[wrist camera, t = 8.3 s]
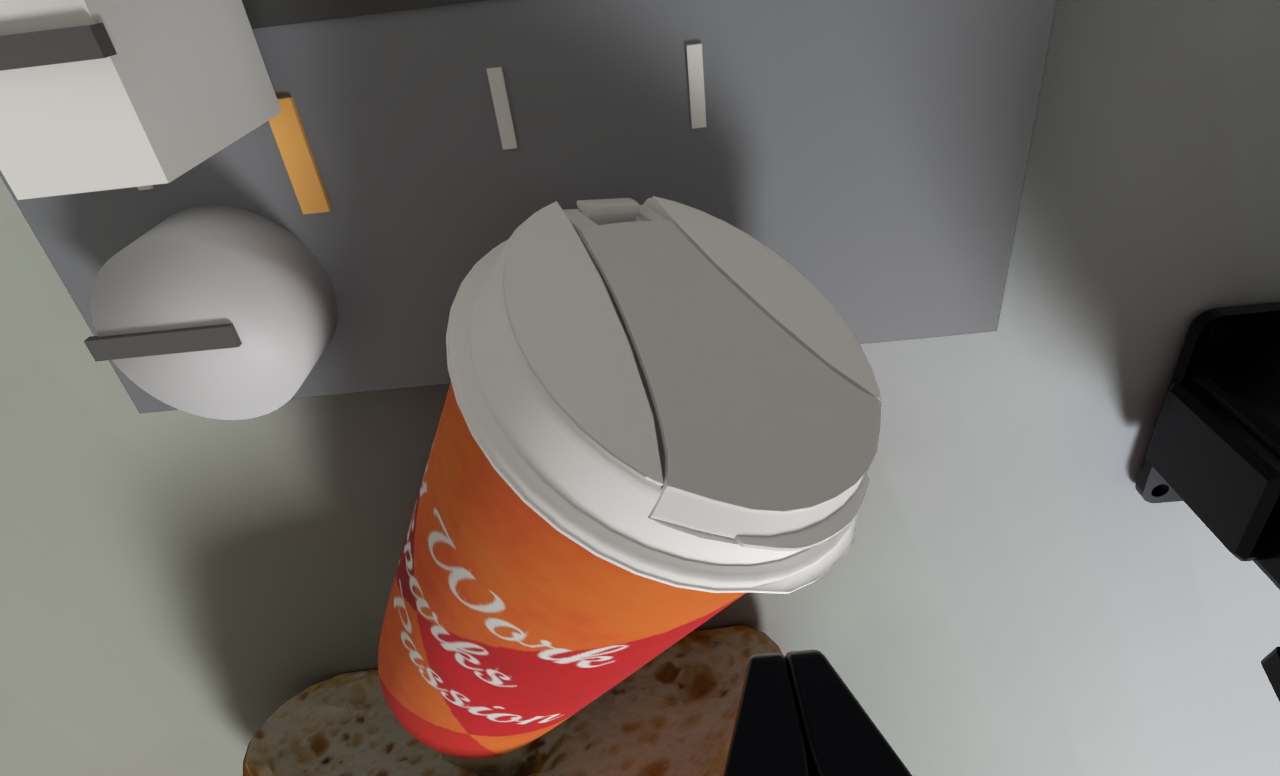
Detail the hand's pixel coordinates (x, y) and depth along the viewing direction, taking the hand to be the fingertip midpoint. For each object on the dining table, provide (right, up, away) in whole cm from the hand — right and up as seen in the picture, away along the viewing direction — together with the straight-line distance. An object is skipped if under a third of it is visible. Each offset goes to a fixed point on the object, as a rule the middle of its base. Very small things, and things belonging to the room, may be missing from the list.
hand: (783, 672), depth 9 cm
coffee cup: (-7, -5, +14) cm, 16 cm away
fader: (-10, +10, +5) cm, 16 cm away
